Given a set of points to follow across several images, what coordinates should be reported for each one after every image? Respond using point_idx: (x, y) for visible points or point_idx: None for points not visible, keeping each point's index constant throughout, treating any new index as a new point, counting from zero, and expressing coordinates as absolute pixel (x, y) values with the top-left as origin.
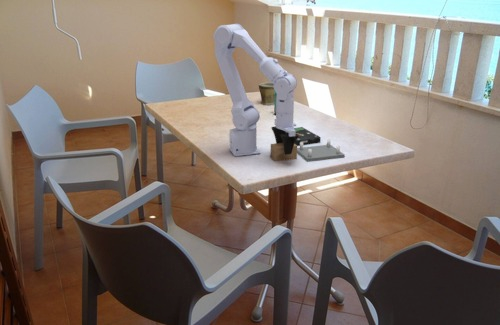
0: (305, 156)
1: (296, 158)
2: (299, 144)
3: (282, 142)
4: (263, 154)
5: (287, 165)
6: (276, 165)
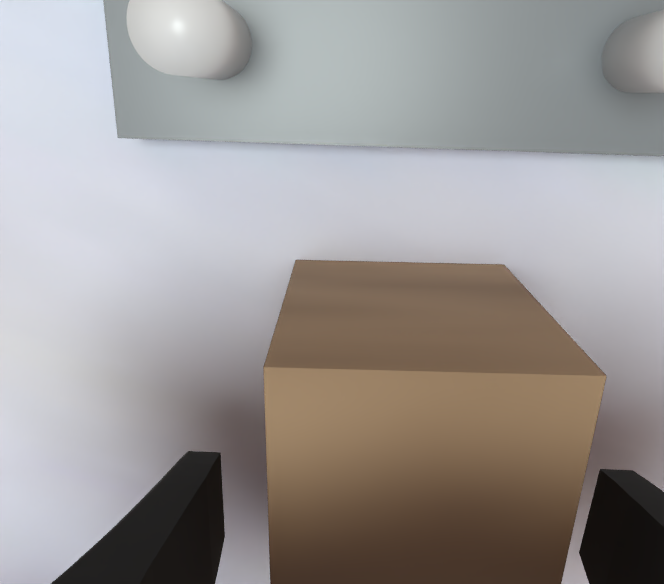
0: (599, 137)
1: (505, 272)
2: None
3: (197, 529)
4: None
5: (655, 469)
6: (585, 573)
